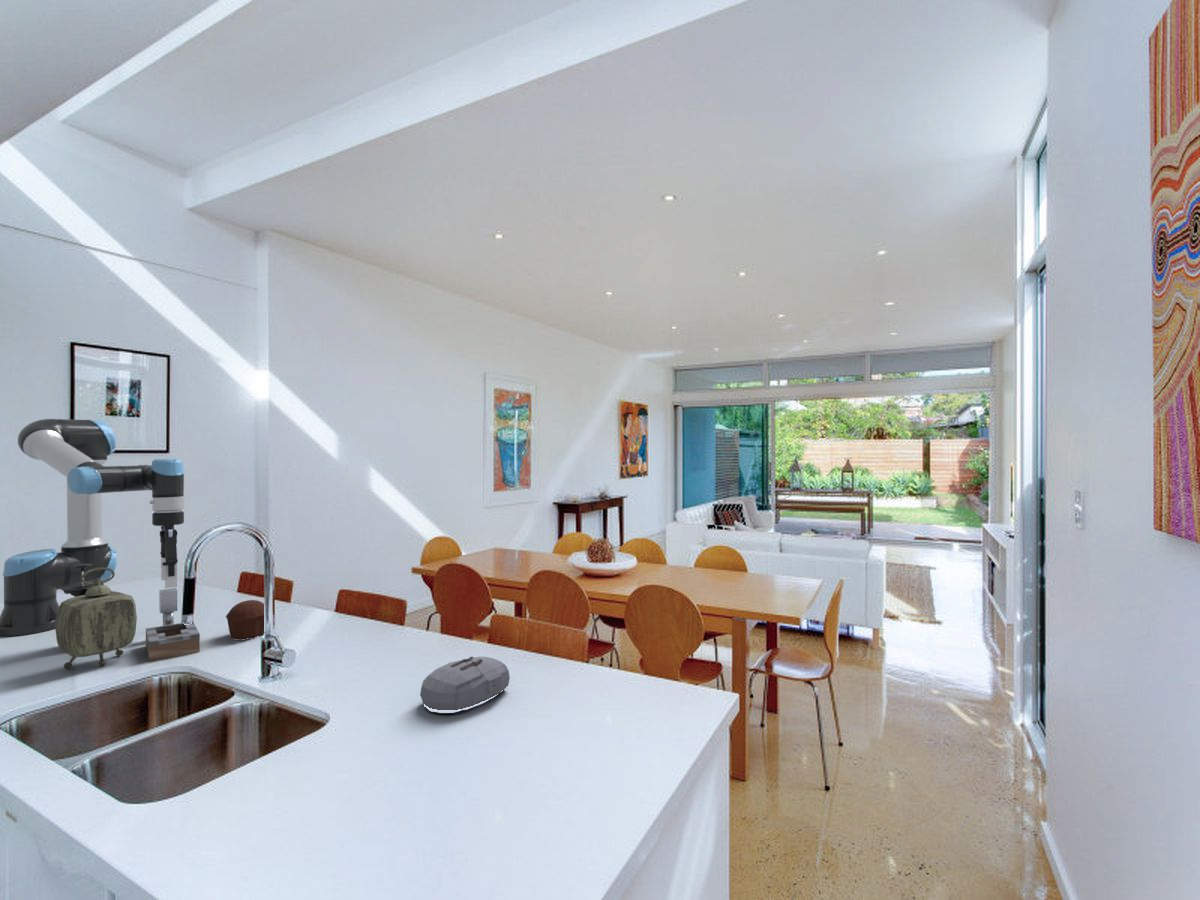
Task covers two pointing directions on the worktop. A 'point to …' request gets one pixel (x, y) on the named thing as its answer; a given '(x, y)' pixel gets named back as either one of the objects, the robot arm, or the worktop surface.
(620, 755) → the worktop surface
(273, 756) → the worktop surface
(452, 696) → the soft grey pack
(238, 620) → the muffin
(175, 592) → the headed peg
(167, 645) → the keyhole block
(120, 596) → the tabletop clock
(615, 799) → the worktop surface
